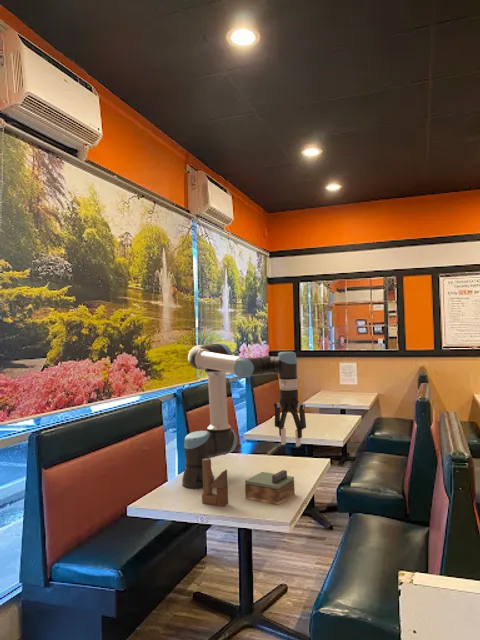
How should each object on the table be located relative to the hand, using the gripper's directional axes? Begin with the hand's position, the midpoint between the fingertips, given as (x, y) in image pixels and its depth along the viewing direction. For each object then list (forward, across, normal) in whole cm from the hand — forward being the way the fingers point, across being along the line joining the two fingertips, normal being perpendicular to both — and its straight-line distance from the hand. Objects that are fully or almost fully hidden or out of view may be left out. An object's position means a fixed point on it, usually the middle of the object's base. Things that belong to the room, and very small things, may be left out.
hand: (290, 444), depth 204 cm
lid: (+17, -11, 0) cm, 20 cm away
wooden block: (+23, -27, -18) cm, 40 cm away
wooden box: (+23, -11, 0) cm, 25 cm away
